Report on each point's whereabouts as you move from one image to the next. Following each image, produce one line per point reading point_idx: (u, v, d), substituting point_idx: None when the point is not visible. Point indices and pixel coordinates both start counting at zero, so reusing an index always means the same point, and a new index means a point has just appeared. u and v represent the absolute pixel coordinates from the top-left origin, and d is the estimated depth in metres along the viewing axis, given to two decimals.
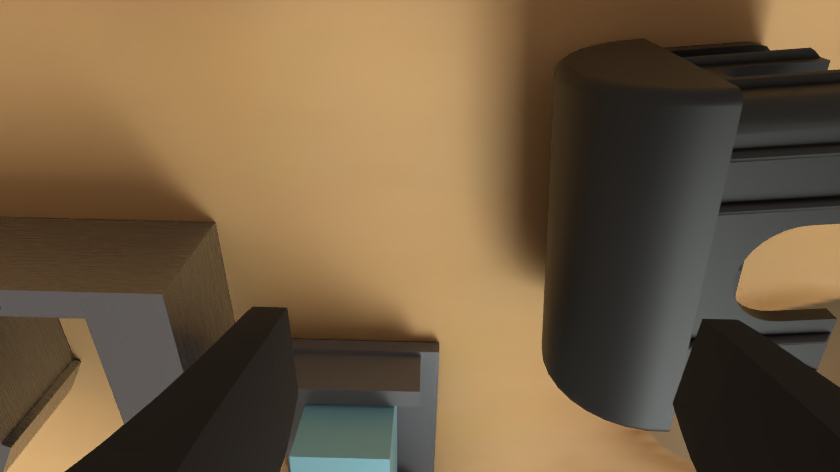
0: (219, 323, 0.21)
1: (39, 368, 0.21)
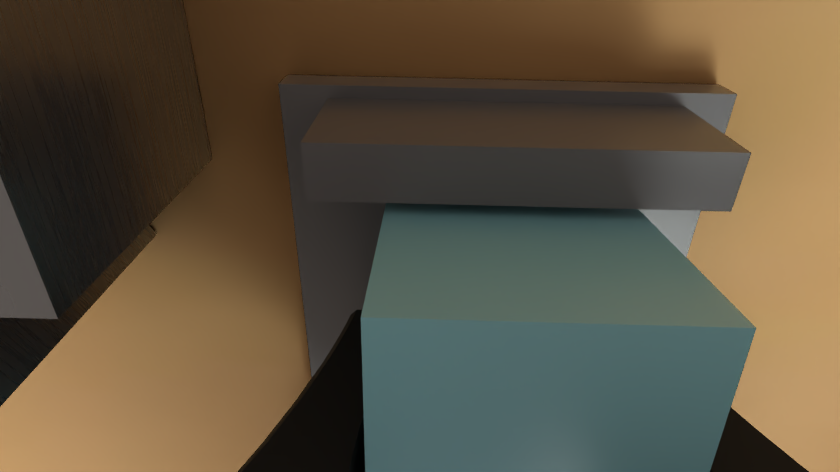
0: None
1: None
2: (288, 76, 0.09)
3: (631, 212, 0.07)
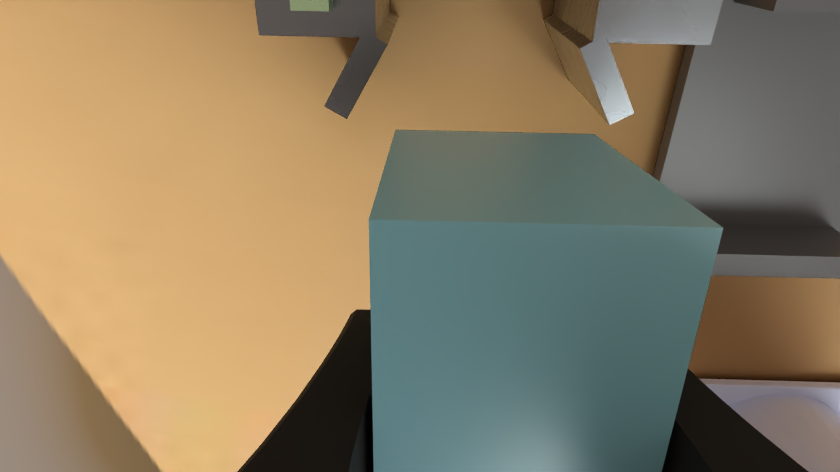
0: None
1: None
2: None
3: (617, 157, 0.08)
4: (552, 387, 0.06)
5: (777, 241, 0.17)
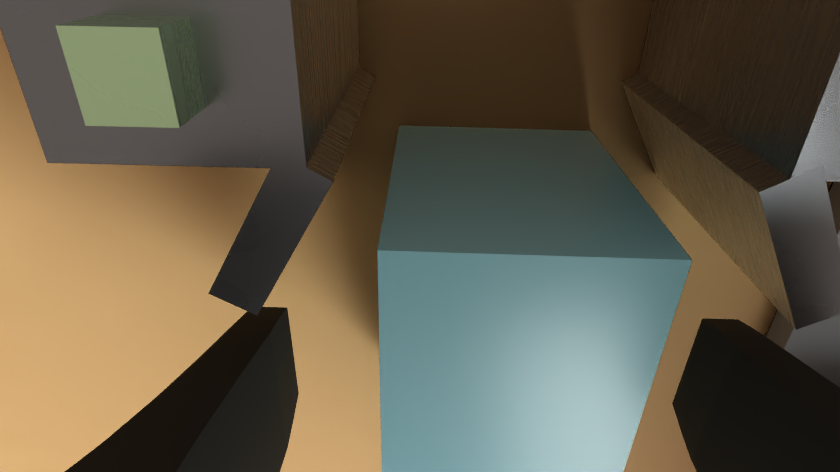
0: None
1: (340, 9, 0.07)
2: None
3: (608, 163, 0.08)
4: (536, 385, 0.07)
5: None
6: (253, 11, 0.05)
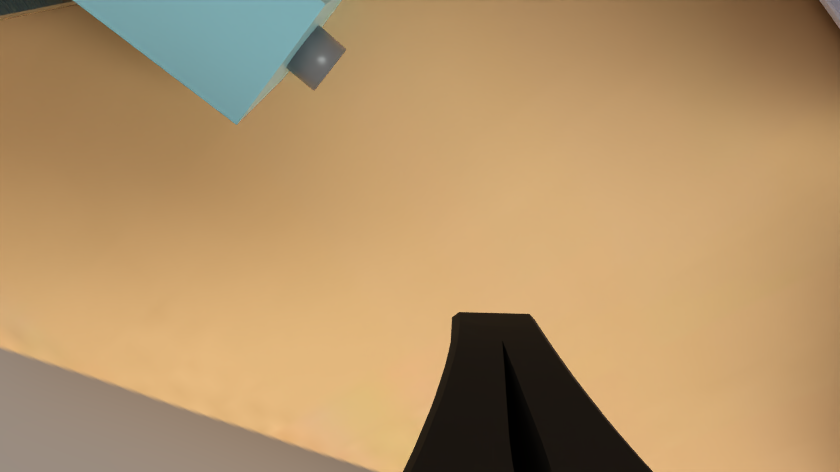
0: None
1: None
2: None
3: None
4: None
5: None
6: None
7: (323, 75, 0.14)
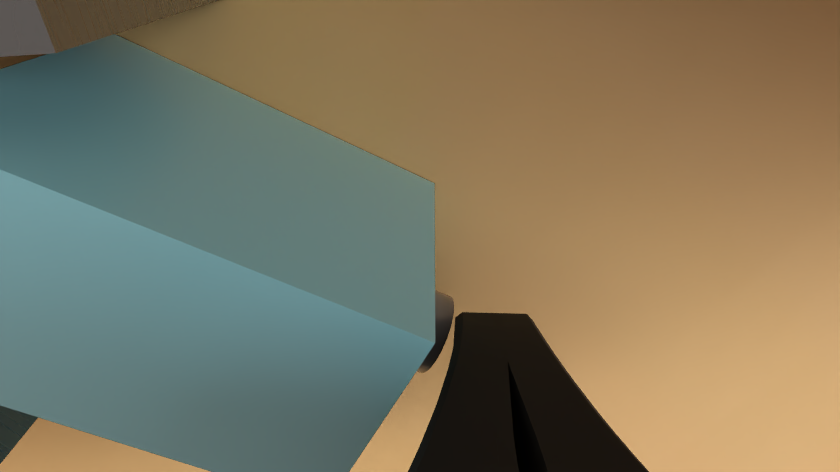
0: None
1: None
2: None
3: None
4: (59, 305, 0.06)
5: None
6: None
7: (432, 362, 0.09)
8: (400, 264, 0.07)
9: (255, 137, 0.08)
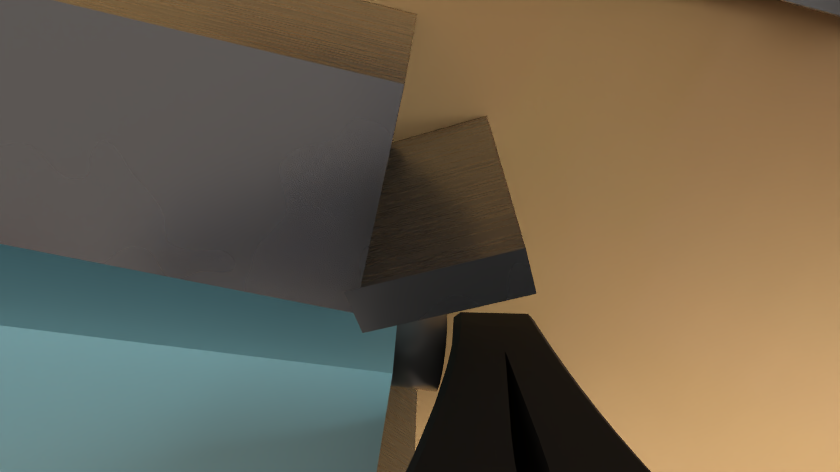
0: None
1: None
2: None
3: None
4: (70, 418, 0.07)
5: None
6: None
7: (437, 380, 0.09)
8: None
9: None
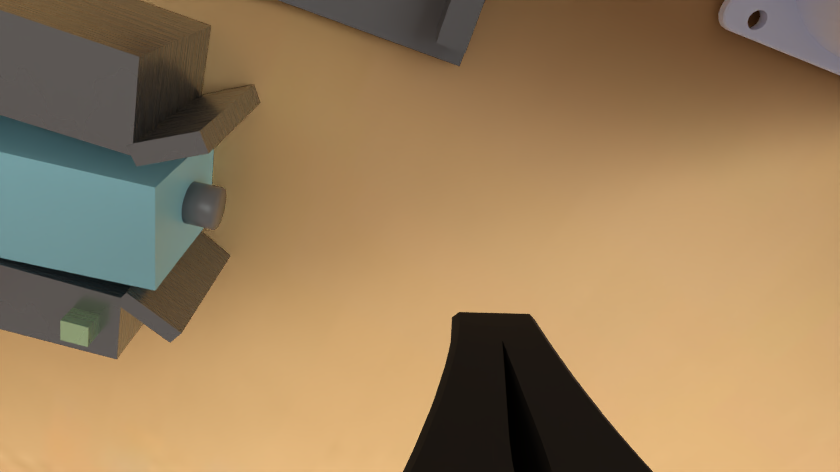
0: None
1: None
2: None
3: None
4: (5, 200, 0.15)
5: None
6: (70, 292, 0.16)
7: (208, 219, 0.17)
8: (157, 163, 0.15)
9: None
